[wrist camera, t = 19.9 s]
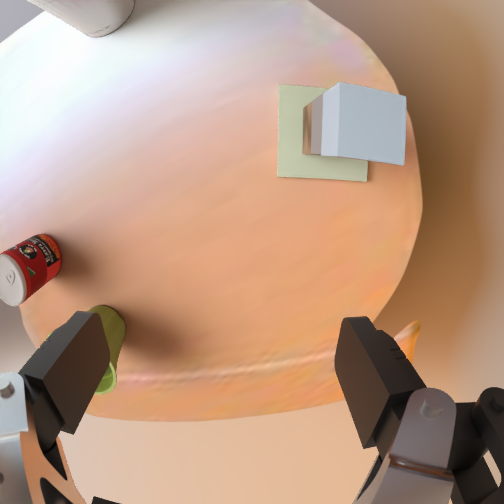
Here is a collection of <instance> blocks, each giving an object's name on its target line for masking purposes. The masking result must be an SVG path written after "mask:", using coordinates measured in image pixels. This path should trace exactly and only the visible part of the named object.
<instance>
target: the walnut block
mask: <svg viewBox="0 0 504 504" xmlns="http://www.w3.org/2000/svg"><path fill="white" fill-rule="evenodd" d="M311 129H312V102H310V103H309V104H308V105H306V106H305V107H304V108H303V147H302V154H309V155H319V154H311Z"/></svg>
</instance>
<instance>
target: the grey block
mask: <svg viewBox="0 0 504 504" xmlns="http://www.w3.org/2000/svg"><path fill="white" fill-rule="evenodd" d="M324 93H325V92H324ZM322 117H323V93H322V94H321V95H320V96H318V97H317V98H316V99H314V100H313V101H312V129H311V154H319V155H321V143H322Z"/></svg>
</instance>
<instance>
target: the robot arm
mask: <svg viewBox="0 0 504 504" xmlns="http://www.w3.org/2000/svg"><path fill="white" fill-rule="evenodd" d="M27 1H29V2H31V3H33V4H35V5H37V6H38V7H40V8H42V9H44V10H45V11H47V12H49V13H51V14H52V15H54V16H56V17H57V18H59V19H61V20H62V21H64V22H66V23H67V24H69V25H71V26H72V27H74V28H76V29H77V30H79V31H80V32H82V33H84V34H85V35H87V36H90V37H100V36H104V35H107V34H109V33H111V32H113V31H114V30H116V29H117V28H119V27H120V26H121V25H122V24H123V23H124V22H125V21H126V20H127V19H128V17H129V16H130V14H131V13H132V10H133V8H134V0H27ZM109 364H110V349H109V346H108V342H107V339H106V335H105V332H104V328H103V324H102V320H101V317H100V315H99V314H98V313H94V312H84V311H77V312H76V313H75V314H74V315H73V316H72V317H71V318H70V319H69V320H68V321H67V323H65V324H64V325H62V326H60V327H59V328H57V329H56V330H54V331H53V332H52V333H51V334H50V336H49V337H48V338H47V339H46V341H44V343H43V344H42V345H41V346H40V348H38V349H37V351H36V352H35V353H34V354H33V355H32V357H31V358H30V359H29V360H28V361H27V363H26V364H25V365H24V366H23V368H22V369H21V370H20V371H19V373H15V372H5V373H1V374H0V504H86V502H85V500H84V499H83V498H82V496H81V495H80V493H79V492H78V490H77V488H76V486H75V484H74V481H73V479H72V476H71V473H70V470H69V467H68V464H67V461H66V457H65V454H64V451H63V447H62V444H61V441H60V439H59V437H58V434H59V432H60V430H61V431H64V432H67V433H70V434H73V435H74V433H75V431H76V429H77V427H78V425H79V423H80V421H81V419H82V417H83V415H84V413H85V411H86V409H87V407H88V405H89V403H90V401H91V399H92V397H93V395H94V393H95V391H96V389H97V387H98V385H99V384H100V382H101V380H102V378H103V376H104V374H105V372H106V370H107V369H108V367H109ZM335 371H336V375H337V377H338V380H339V383H340V385H341V388H342V391H343V393H344V396H345V399H346V401H347V404H348V406H349V410H350V412H351V415H352V418H353V421H354V424H355V426H356V429H357V432H358V435H359V438H360V440H361V443H362V446H363V449H365V448H370V447H375V446H377V449H378V451H379V454H378V455H377V457H376V459H375V461H374V463H373V465H372V467H371V469H370V471H369V473H368V475H367V478H366V480H365V481H364V483H363V485H362V487H361V489H360V491H359V493H358V494H357V497H356V498H355V500H354V502H353V503H352V504H448V503H449V499H450V498H451V500H452V503H453V504H504V389H501V388H497V387H491V388H487V389H485V390H484V391H483V392H482V393H481V395H480V397H479V399H478V400H477V402H469V403H455V402H454V400H453V399H452V398H451V397H450V396H449V395H448V394H447V393H445V392H444V391H441V390H439V389H435V388H427V387H426V385H425V384H424V382H423V381H422V379H421V378H420V376H419V375H418V373H417V372H416V370H415V369H414V367H413V366H412V364H411V363H410V361H409V360H408V359H406V356H405V354H404V353H403V351H402V350H400V347H399V346H398V344H397V343H396V341H395V340H394V339H393V338H392V337H391V336H389V335H388V334H387V333H385V332H384V331H382V330H376V328H375V327H374V325H373V324H372V322H371V321H370V319H369V318H368V317H367V316H362V317H346V318H344V319H343V321H342V324H341V329H340V334H339V339H338V344H337V349H336V353H335ZM488 450H489V451H490V453H491V455H492V457H493V459H494V461H495V463H496V464H497V467H498V469H499V471H500V473H501V483H500V486H499V487H498V486H497V484H496V482H495V480H494V478H493V476H492V474H491V472H490V469H489V467H488V465H487V463H486V461H485V459H484V457H483V456H484V455H485V453H486V452H487V451H488ZM92 504H119V503H116V502H112V501H109V500H105V499H102V498H98V497H95V496H94V497H93V501H92Z"/></svg>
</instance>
